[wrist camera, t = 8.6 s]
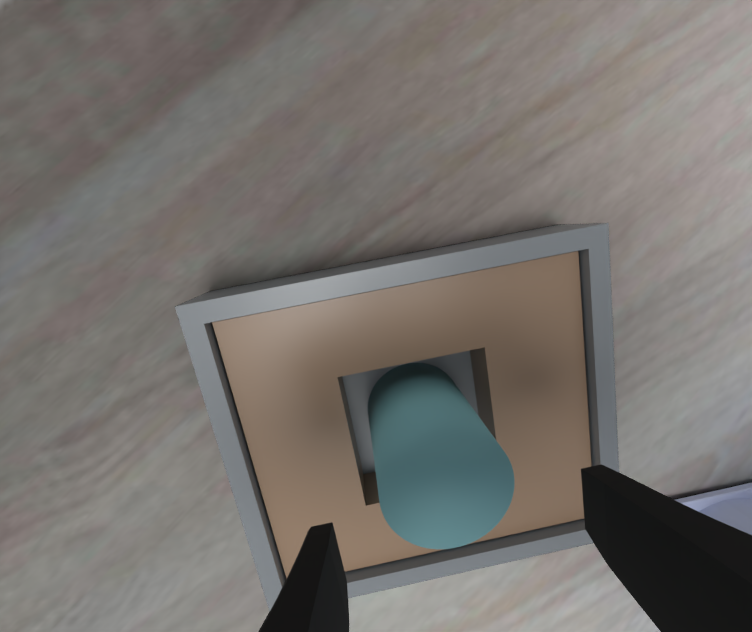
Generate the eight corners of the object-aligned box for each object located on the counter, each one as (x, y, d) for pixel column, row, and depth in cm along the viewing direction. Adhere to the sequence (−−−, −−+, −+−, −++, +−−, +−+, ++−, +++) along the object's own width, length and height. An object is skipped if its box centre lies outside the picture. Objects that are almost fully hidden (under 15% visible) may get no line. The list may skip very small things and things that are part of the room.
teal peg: (455, 355, 18) (510, 417, 12) (463, 440, 19) (518, 536, 13) (361, 370, 17) (369, 441, 12) (374, 456, 18) (389, 560, 13)
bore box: (556, 224, 18) (608, 222, 14) (575, 486, 21) (621, 536, 17) (209, 291, 17) (174, 306, 13) (283, 550, 20) (270, 615, 17)
